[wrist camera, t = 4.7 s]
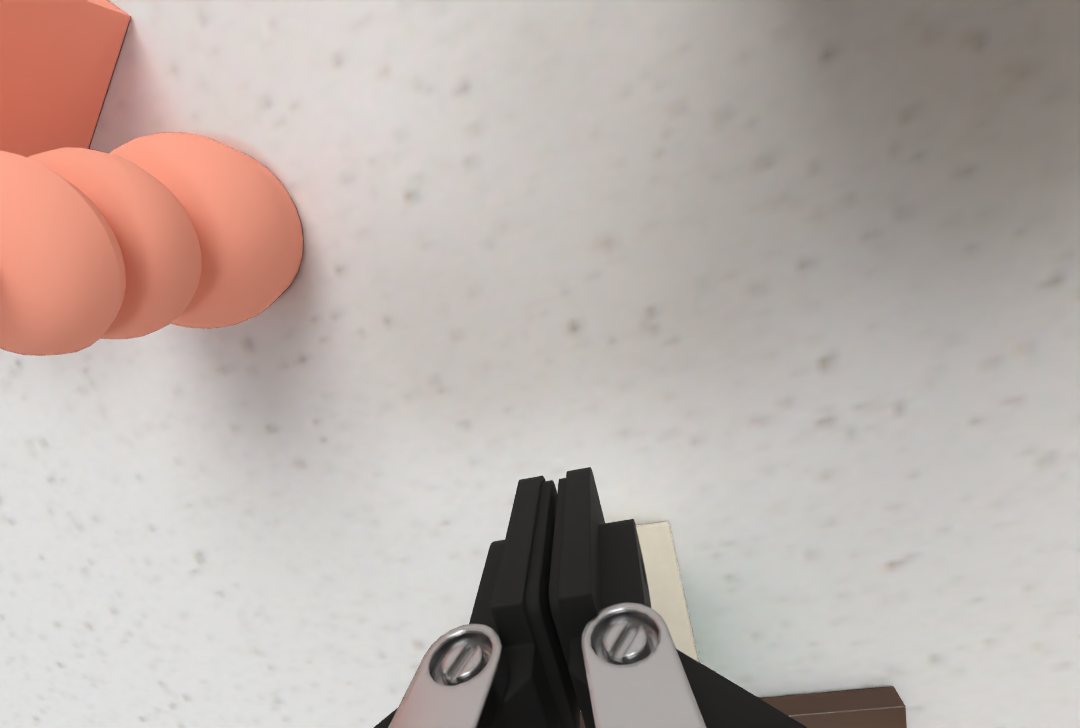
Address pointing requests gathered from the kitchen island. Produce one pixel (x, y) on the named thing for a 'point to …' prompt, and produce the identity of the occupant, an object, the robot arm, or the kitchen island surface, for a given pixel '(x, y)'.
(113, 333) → the coral tray and vase
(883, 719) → the cutting board
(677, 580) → the block
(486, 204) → the kitchen island surface
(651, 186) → the kitchen island surface
